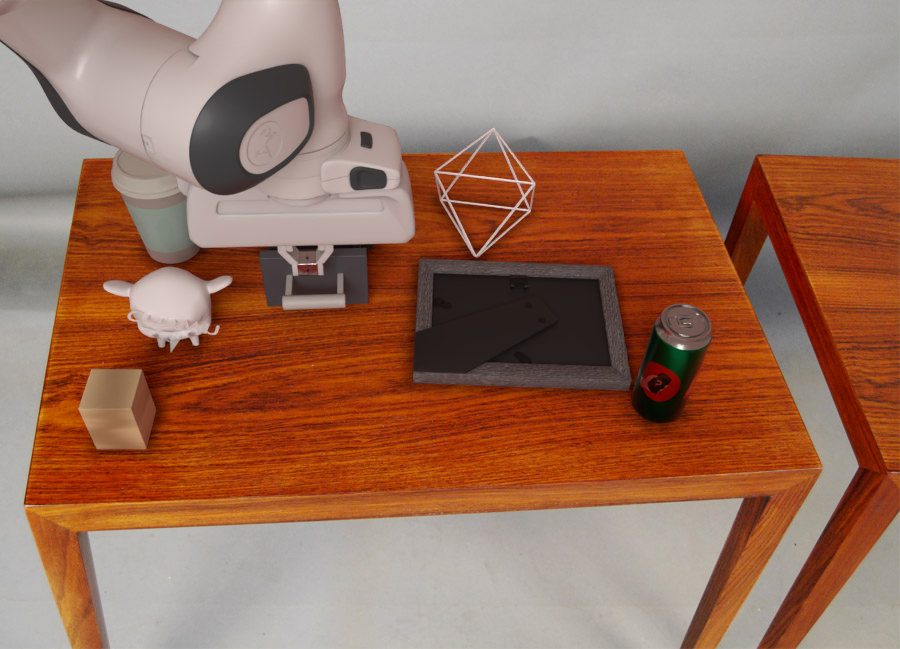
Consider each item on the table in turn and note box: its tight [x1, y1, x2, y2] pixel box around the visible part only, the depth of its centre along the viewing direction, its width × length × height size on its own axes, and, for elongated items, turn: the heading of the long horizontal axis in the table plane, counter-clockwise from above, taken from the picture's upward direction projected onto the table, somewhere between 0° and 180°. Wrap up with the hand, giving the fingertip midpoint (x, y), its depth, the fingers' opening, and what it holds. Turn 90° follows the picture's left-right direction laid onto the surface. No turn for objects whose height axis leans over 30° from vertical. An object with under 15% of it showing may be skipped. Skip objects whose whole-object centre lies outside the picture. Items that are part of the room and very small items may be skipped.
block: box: [77, 368, 157, 450], centre depth 76 cm, size 4×4×6 cm
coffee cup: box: [110, 149, 202, 265], centre depth 90 cm, size 8×8×12 cm
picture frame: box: [412, 258, 632, 392], centre depth 88 cm, size 16×2×21 cm
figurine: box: [102, 266, 234, 353], centre depth 83 cm, size 12×8×10 cm
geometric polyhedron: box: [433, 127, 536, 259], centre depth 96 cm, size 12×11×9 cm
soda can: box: [630, 303, 714, 424], centre depth 78 cm, size 5×5×12 cm
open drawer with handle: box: [258, 244, 370, 311], centre depth 88 cm, size 15×10×7 cm
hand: (308, 271), depth 82 cm, fingers closed
